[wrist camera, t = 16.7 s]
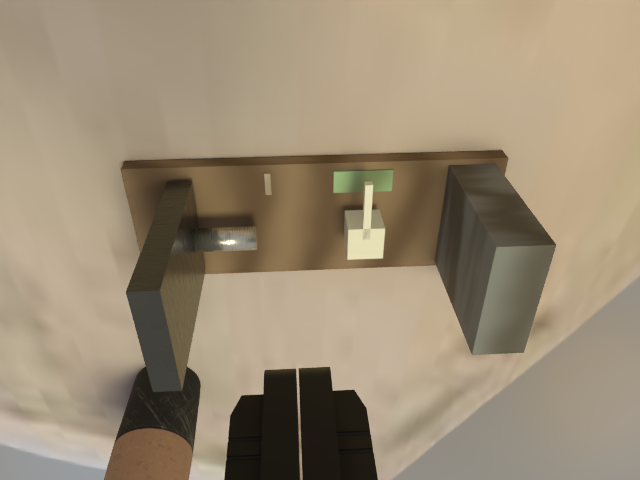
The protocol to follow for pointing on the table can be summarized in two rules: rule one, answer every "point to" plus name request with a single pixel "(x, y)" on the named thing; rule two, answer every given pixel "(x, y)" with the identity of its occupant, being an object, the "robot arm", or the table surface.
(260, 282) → the table surface
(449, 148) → the table surface
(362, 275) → the table surface
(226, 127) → the table surface
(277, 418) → the robot arm
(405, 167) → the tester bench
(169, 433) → the travel mug
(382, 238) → the cream lever switch
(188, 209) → the brushed metal plate
